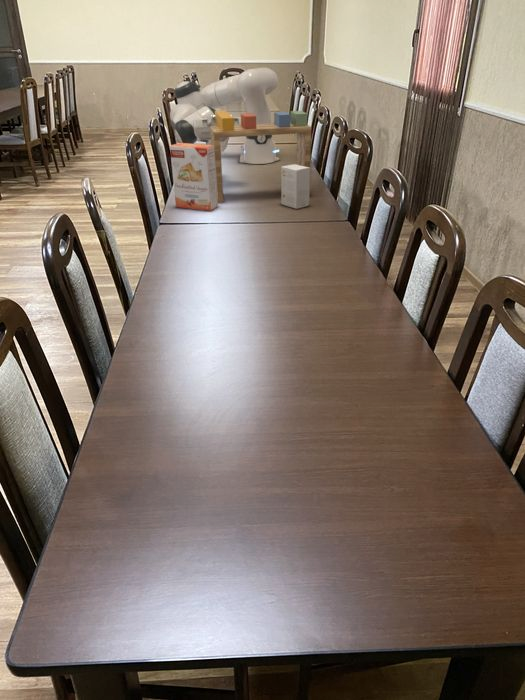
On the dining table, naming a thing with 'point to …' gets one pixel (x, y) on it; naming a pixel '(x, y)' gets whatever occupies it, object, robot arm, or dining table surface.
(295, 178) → the small box
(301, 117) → the block
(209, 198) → the cracker box
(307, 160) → the shelf
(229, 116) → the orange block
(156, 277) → the dining table surface
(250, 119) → the block
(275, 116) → the block
